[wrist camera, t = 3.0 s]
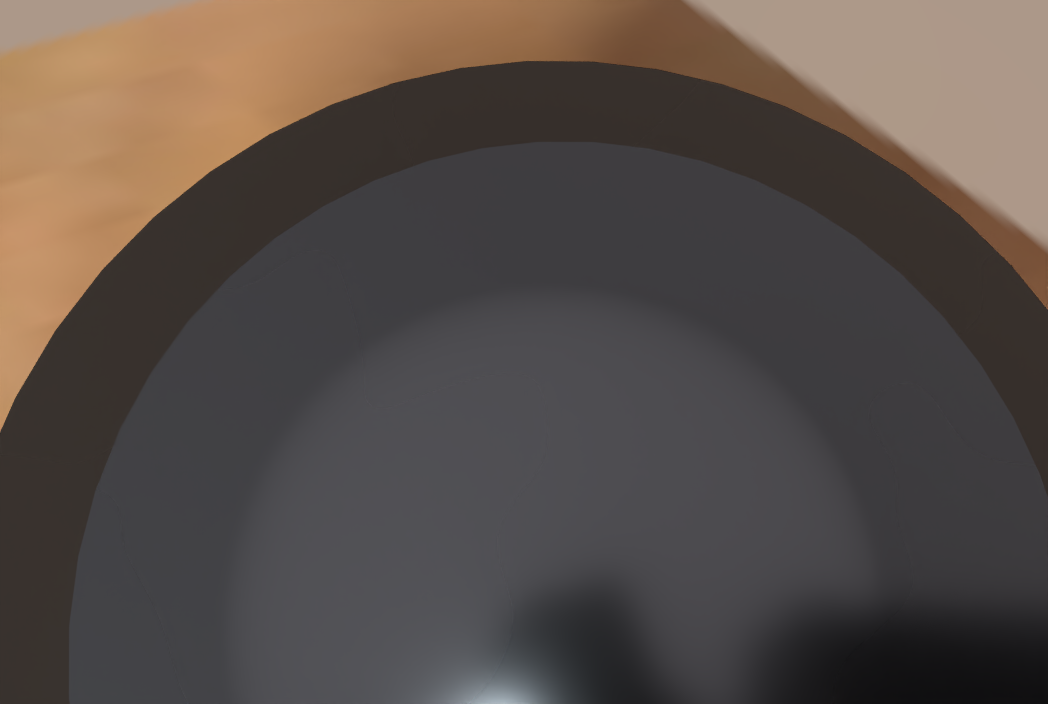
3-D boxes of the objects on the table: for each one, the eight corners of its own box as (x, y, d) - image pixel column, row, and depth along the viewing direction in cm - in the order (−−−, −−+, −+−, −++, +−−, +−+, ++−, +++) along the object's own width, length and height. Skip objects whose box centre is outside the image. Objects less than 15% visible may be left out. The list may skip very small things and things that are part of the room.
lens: (660, 840, 14) (1328, 1648, 3) (299, 773, 14) (-400, 1304, 3) (701, 479, 16) (1207, 123, 5) (381, 421, 16) (136, -63, 5)
